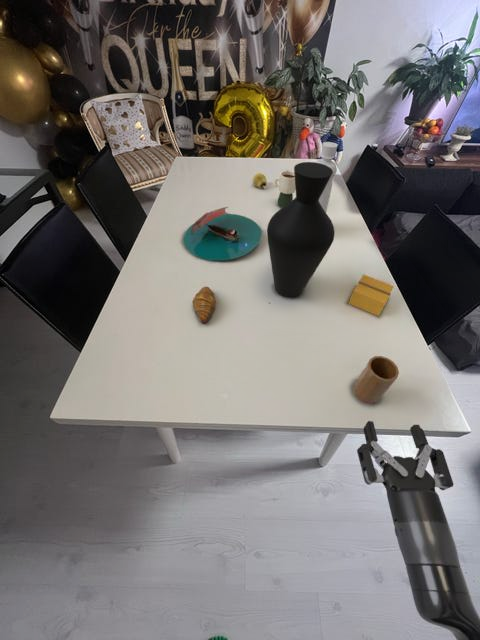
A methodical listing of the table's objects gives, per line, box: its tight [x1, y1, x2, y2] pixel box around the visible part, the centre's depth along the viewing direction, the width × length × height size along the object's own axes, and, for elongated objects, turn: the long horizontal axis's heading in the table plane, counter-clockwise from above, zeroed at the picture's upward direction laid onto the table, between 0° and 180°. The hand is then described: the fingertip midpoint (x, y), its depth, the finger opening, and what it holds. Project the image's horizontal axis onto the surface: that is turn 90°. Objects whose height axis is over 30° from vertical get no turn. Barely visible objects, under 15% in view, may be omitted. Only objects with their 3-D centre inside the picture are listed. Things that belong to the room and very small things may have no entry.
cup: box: [352, 355, 400, 405], centre depth 65 cm, size 6×6×10 cm
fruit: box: [252, 172, 268, 190], centre depth 134 cm, size 6×6×10 cm
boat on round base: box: [182, 206, 263, 261], centre depth 104 cm, size 28×28×11 cm
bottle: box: [315, 141, 338, 213], centre depth 101 cm, size 9×9×30 cm
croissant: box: [191, 286, 217, 324], centre depth 83 cm, size 14×7×5 cm, turn 1°
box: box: [348, 273, 395, 317], centre depth 87 cm, size 9×9×5 cm
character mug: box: [273, 170, 296, 209], centre depth 120 cm, size 11×7×13 cm, turn 81°
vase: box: [266, 161, 335, 299], centre depth 78 cm, size 17×17×35 cm
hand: (391, 424), depth 56 cm, fingers open, 8 cm apart
